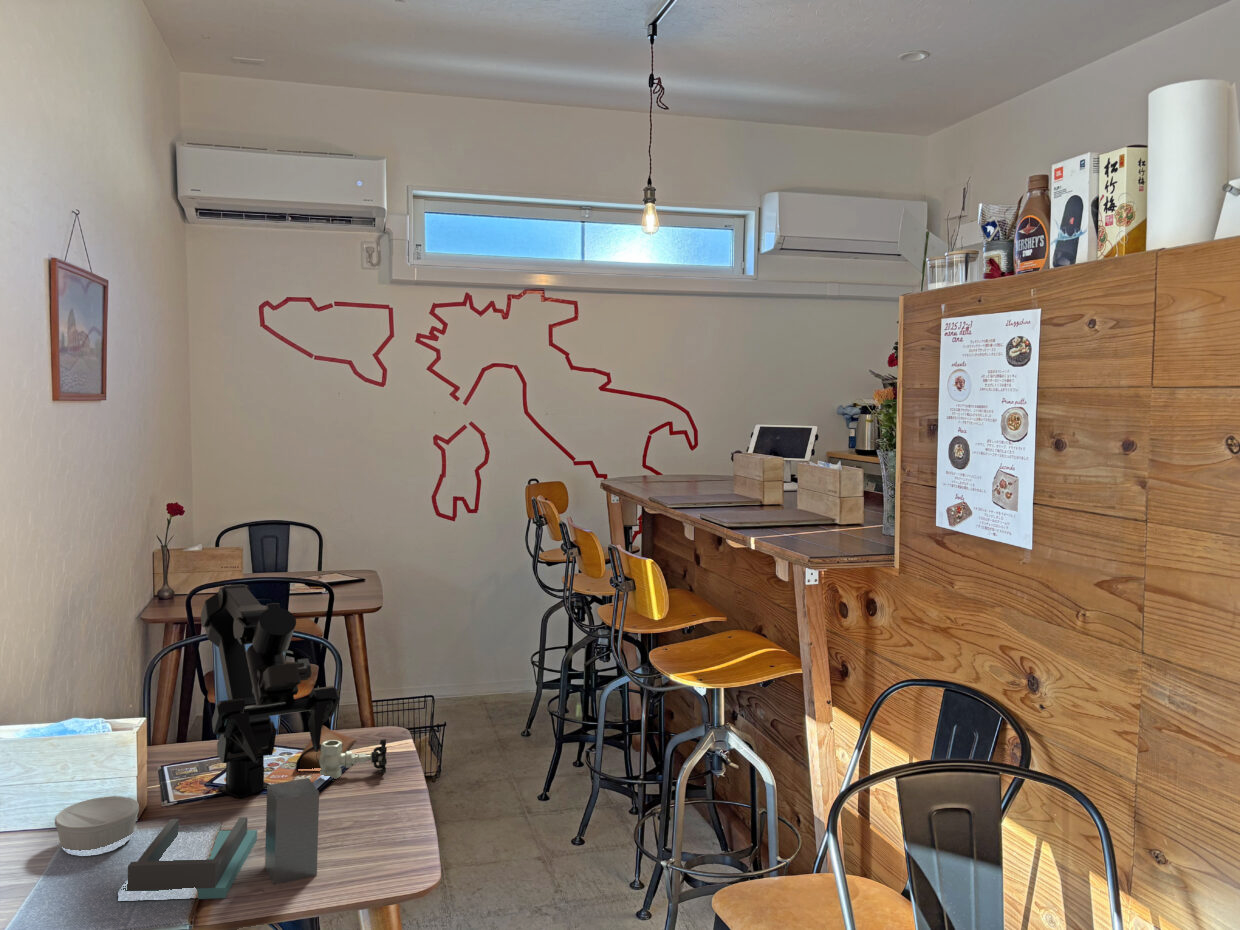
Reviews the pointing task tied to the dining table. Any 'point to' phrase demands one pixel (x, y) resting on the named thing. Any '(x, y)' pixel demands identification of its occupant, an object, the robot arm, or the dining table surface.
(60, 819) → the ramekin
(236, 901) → the dining table surface
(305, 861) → the lock block
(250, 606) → the robot arm
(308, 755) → the sunglasses case
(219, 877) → the dock plate
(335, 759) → the valve
